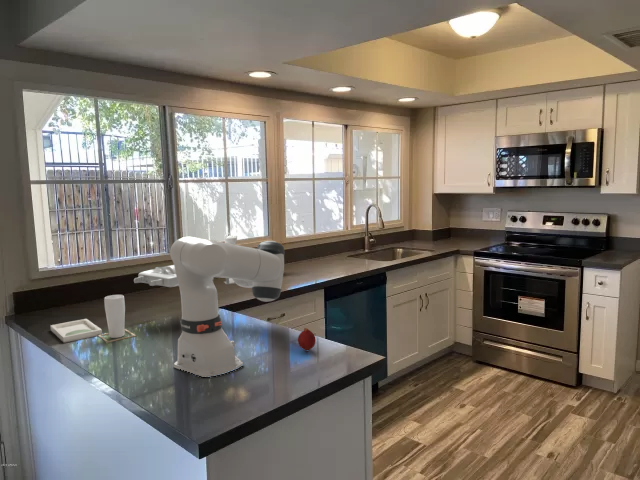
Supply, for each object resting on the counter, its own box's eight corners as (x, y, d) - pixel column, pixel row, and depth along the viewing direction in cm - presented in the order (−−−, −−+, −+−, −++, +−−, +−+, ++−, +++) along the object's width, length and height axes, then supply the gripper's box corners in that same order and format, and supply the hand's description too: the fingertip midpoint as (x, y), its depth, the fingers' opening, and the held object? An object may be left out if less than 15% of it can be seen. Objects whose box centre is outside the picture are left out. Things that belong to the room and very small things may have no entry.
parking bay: (136, 336, 175) (135, 335, 175) (107, 342, 168) (107, 341, 168) (126, 330, 182) (126, 329, 182) (98, 336, 176) (98, 335, 176)
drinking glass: (105, 340, 171) (102, 299, 169) (108, 334, 178) (105, 295, 176) (125, 338, 173) (122, 298, 171) (128, 332, 179) (125, 294, 178)
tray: (102, 334, 177) (101, 329, 177) (63, 342, 169) (63, 337, 169) (86, 323, 192) (86, 318, 192) (50, 330, 184) (50, 325, 184)
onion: (306, 346, 160) (305, 323, 159) (319, 350, 157) (318, 326, 156) (294, 351, 156) (294, 328, 155) (307, 355, 152) (307, 331, 151)
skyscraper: (222, 281, 269) (220, 233, 266) (236, 280, 273) (235, 232, 269) (226, 284, 262) (224, 234, 258) (240, 283, 265) (238, 233, 262)
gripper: (189, 286, 189) (160, 293, 178) (156, 281, 201) (127, 287, 189) (188, 270, 189) (159, 276, 177) (155, 266, 200) (126, 271, 189)
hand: (142, 282), depth 183 cm, fingers open, 8 cm apart
